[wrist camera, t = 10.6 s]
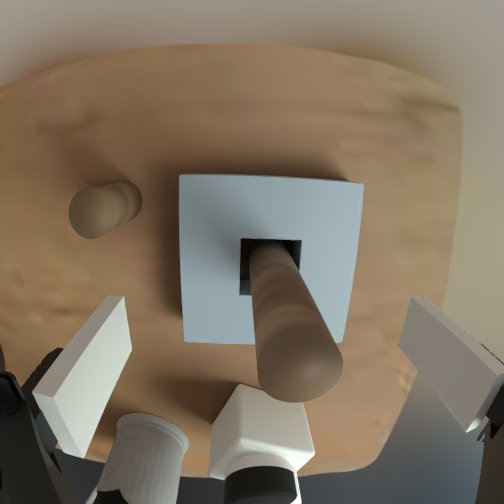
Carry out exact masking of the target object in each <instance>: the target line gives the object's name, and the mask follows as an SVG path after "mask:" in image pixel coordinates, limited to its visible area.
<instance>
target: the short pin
mask: <svg viewBox="0 0 504 504" xmlns="http://www.w3.org/2000/svg"><path fill="white" fill-rule="evenodd" d="M141 207H142V195H141V193H140V191H139V189H138V188H137V187H136V186H135V185H134V184H132V183H130V182H118V183H113V184H108V185H103V186H98V187H93V188H88V189H84V190H81V191H79V192H78V193H77V194H76V195H75V196H74V197H73V199H72V201H71V203H70V207H69V219H70V222H71V225H72V227H73V228H74V230H75V231H76V232H77V233H78V234H79V235H80V236H82V237H84V238H87V239H95V238H98V237H100V236H102V235H103V234H105V233H107V232H109V231H110V230H112V229H114V228H116V227H118V226H119V225H121V224H123V223H125V222H127V221H129V220H130V219H132V218H134V217H135V216H136V215H137V214H138V213H139V212H140V210H141Z"/></svg>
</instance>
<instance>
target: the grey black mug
mask: <svg viewBox="0 0 504 504" xmlns="http://www.w3.org/2000/svg"><path fill="white" fill-rule="evenodd" d="M116 429H117V435H116V438H115V440H114V443H113V445H112V448H111V451H110V454H109V456H108V459H107V462H106V464H105V467H104V470H103V473H102V476H101V478H100V481H99V484H98V485H97V486H96V487H95V489H94V490H93V492H92V493H91V494H90V496H89V498H88V499H87V501H86V503H85V504H92V503H93V501H94V499H95V498H96V499H95V502H94V504H176V498H177V491H178V485H179V478H180V472H181V465H182V459H183V454H184V453H185V452H186V451H187V449H188V446H189V441H188V438H187V436H186V434H185V433H184V432H183V431H182V430H181V429H180V428H179V427H178V426H176V425H175V424H173V423H172V422H170V421H168V420H166V419H164V418H161V417H158V416H155V415H151V414H147V413H130V414H126V415H124V416H122V417H121V418H120V419H119V420H118V422H117V425H116Z"/></svg>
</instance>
